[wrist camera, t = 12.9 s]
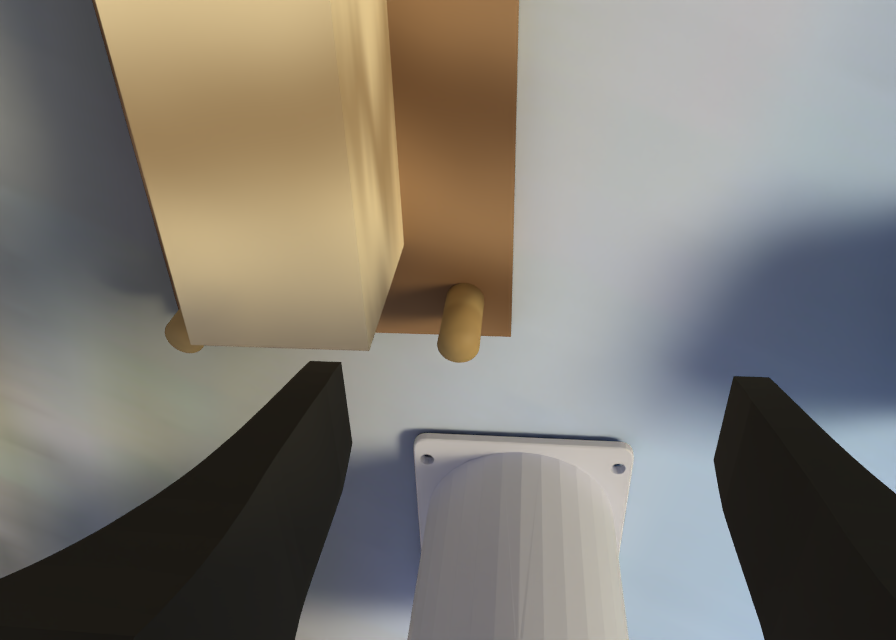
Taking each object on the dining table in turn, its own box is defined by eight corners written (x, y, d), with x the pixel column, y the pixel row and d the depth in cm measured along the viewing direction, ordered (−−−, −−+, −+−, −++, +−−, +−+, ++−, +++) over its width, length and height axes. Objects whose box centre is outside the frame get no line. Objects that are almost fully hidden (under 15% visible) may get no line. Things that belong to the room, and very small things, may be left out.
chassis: (511, 323, 23) (508, 384, 21) (192, 313, 25) (149, 371, 22) (527, -346, 15) (526, -393, 12) (25, -315, 16) (-84, -351, 13)
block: (403, 245, 21) (368, 350, 17) (262, 242, 22) (191, 345, 17) (375, -155, 16) (312, -159, 11) (187, -147, 16) (53, -149, 12)
